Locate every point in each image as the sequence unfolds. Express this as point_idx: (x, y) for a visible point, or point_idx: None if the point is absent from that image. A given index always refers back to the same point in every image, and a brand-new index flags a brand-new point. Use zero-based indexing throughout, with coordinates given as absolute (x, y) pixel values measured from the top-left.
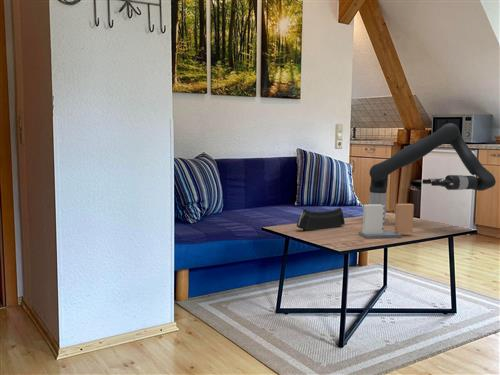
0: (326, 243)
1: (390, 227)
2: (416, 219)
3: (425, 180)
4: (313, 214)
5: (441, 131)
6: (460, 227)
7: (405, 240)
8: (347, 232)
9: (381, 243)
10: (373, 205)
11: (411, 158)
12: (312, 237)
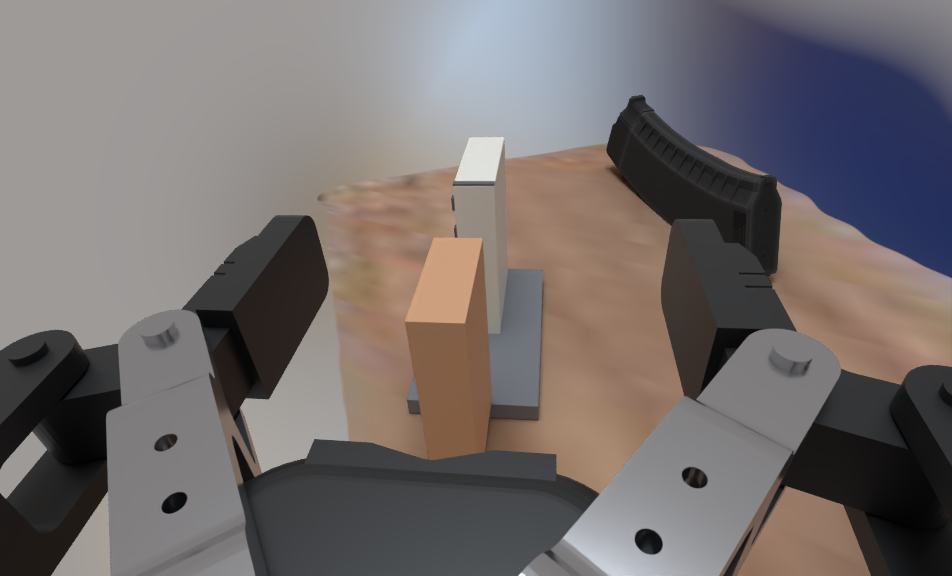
0: (420, 184)
1: (780, 518)
2: None
3: (682, 264)
4: (647, 132)
5: None
6: None
7: (345, 401)
8: (590, 262)
9: (344, 293)
10: (463, 155)
11: None
12: (513, 176)
